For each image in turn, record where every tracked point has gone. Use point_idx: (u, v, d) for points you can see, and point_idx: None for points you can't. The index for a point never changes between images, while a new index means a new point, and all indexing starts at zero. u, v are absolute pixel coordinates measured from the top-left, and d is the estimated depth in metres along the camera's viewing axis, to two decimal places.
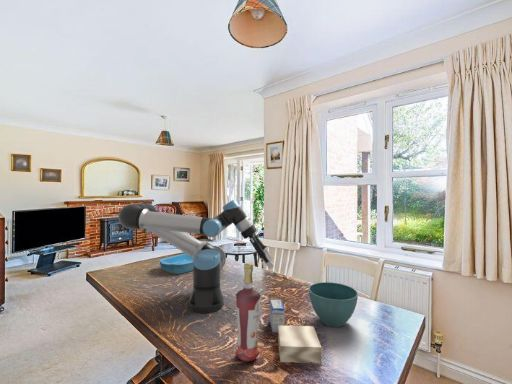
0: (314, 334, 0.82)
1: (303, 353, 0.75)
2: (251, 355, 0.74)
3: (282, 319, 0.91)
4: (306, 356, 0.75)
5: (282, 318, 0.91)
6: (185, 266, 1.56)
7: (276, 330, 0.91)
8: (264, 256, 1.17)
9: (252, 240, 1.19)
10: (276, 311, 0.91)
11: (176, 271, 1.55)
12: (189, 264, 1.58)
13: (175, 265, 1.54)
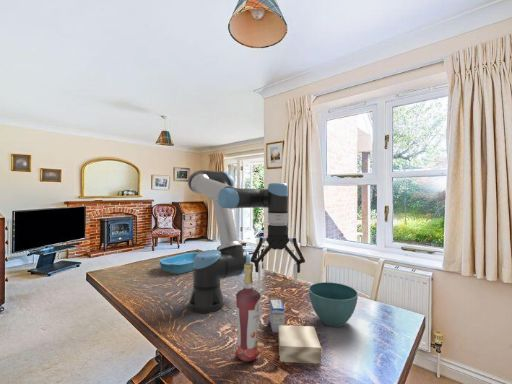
0: (314, 334, 0.82)
1: (302, 353, 0.75)
2: (251, 355, 0.74)
3: (282, 319, 0.91)
4: (306, 357, 0.75)
5: (282, 318, 0.91)
6: (185, 266, 1.56)
7: (276, 330, 0.91)
8: (255, 263, 0.95)
9: (259, 239, 0.96)
10: (276, 311, 0.91)
11: (176, 271, 1.55)
12: (189, 264, 1.58)
13: (175, 265, 1.54)
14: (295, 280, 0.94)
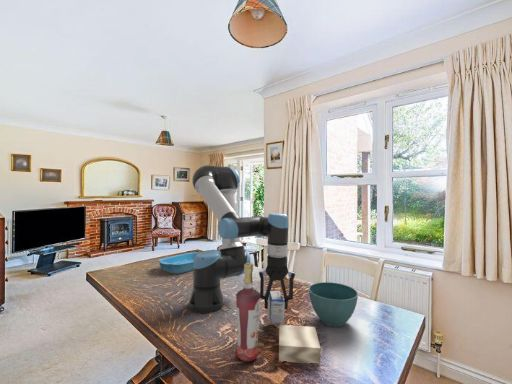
0: (314, 335, 0.81)
1: (302, 353, 0.75)
2: (251, 355, 0.74)
3: (281, 310, 0.92)
4: (305, 357, 0.75)
5: (281, 309, 0.92)
6: (183, 266, 1.56)
7: (275, 321, 0.92)
8: None
9: None
10: (275, 302, 0.92)
11: (174, 271, 1.55)
12: (187, 264, 1.58)
13: (173, 265, 1.54)
14: None
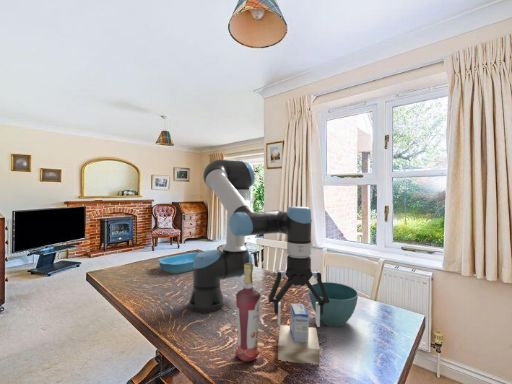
0: (315, 336, 0.81)
1: (301, 353, 0.75)
2: (251, 355, 0.74)
3: (306, 327, 0.77)
4: (304, 357, 0.75)
5: (306, 326, 0.77)
6: (181, 266, 1.56)
7: (299, 340, 0.77)
8: (274, 303, 0.81)
9: (277, 274, 0.81)
10: (299, 317, 0.77)
11: (172, 271, 1.55)
12: (185, 264, 1.58)
13: (171, 265, 1.54)
14: (317, 324, 0.80)
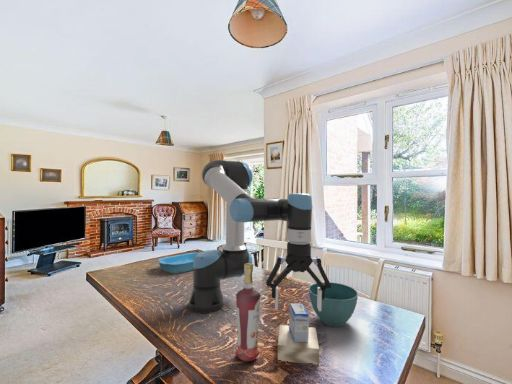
0: (314, 335, 0.81)
1: (300, 353, 0.75)
2: (251, 355, 0.74)
3: (306, 327, 0.77)
4: (303, 357, 0.75)
5: (306, 325, 0.77)
6: (180, 266, 1.56)
7: (299, 340, 0.77)
8: None
9: (277, 259, 0.82)
10: (299, 317, 0.77)
11: (171, 271, 1.55)
12: (185, 264, 1.58)
13: (170, 265, 1.54)
14: (319, 308, 0.80)
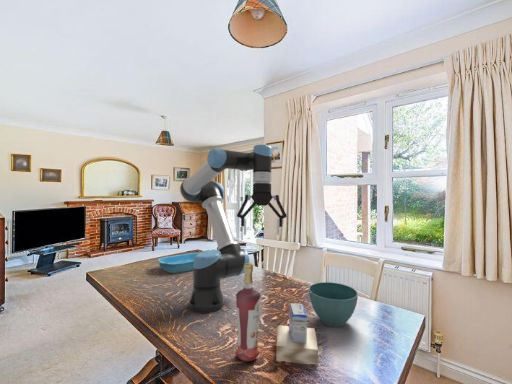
0: (313, 336, 0.81)
1: (299, 354, 0.75)
2: (251, 355, 0.74)
3: (305, 327, 0.77)
4: (302, 358, 0.75)
5: (304, 326, 0.77)
6: (178, 266, 1.56)
7: (297, 340, 0.77)
8: (241, 218, 1.04)
9: (245, 196, 1.05)
10: (297, 318, 0.77)
11: (170, 270, 1.56)
12: (183, 264, 1.57)
13: (168, 264, 1.55)
14: (277, 233, 1.03)
